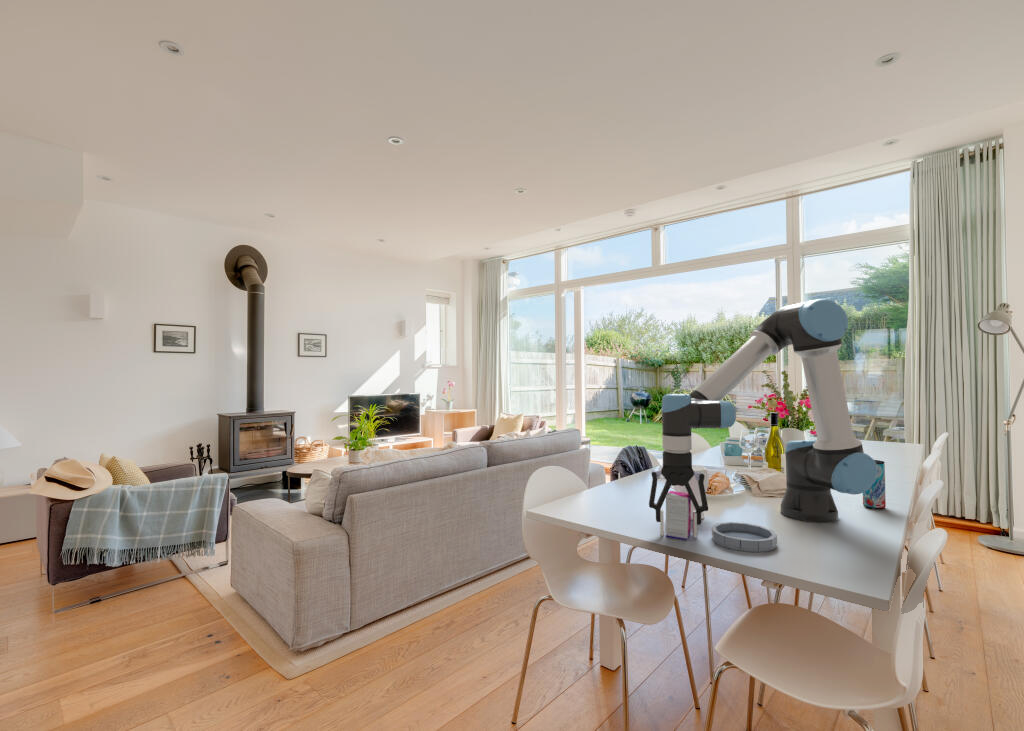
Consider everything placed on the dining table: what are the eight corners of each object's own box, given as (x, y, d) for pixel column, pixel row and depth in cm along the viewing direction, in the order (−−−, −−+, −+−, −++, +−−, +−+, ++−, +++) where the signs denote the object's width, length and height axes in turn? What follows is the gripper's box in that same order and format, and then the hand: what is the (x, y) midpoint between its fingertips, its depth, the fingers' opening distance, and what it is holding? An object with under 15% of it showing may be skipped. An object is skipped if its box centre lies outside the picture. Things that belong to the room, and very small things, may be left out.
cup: (712, 522, 144) (711, 471, 144) (675, 520, 146) (674, 470, 146) (705, 512, 154) (704, 464, 155) (670, 510, 156) (670, 463, 157)
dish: (767, 534, 132) (767, 524, 132) (783, 554, 118) (783, 542, 118) (708, 530, 136) (708, 520, 136) (716, 549, 122) (716, 538, 122)
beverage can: (863, 508, 157) (862, 461, 157) (862, 504, 162) (861, 458, 162) (886, 511, 153) (885, 463, 154) (885, 506, 158) (883, 460, 159)
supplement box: (688, 541, 128) (687, 497, 128) (665, 537, 131) (664, 494, 131) (691, 534, 133) (691, 492, 133) (669, 531, 136) (668, 490, 136)
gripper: (715, 449, 134) (717, 533, 133) (637, 447, 139) (639, 528, 138) (720, 454, 126) (721, 542, 126) (637, 451, 132) (639, 536, 131)
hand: (678, 535), depth 132 cm, fingers open, 8 cm apart
